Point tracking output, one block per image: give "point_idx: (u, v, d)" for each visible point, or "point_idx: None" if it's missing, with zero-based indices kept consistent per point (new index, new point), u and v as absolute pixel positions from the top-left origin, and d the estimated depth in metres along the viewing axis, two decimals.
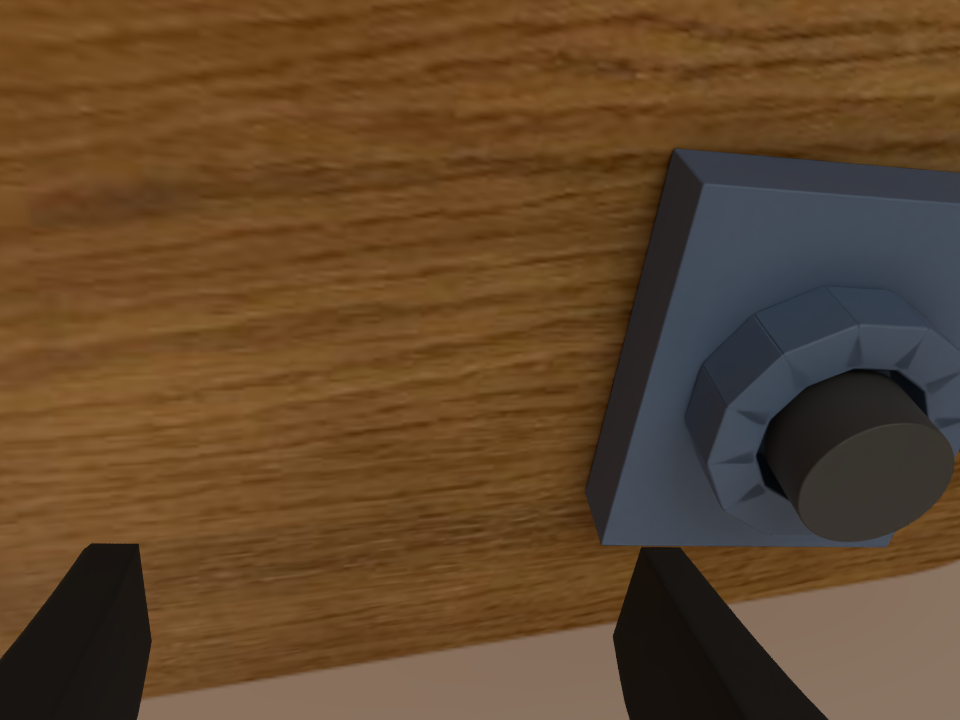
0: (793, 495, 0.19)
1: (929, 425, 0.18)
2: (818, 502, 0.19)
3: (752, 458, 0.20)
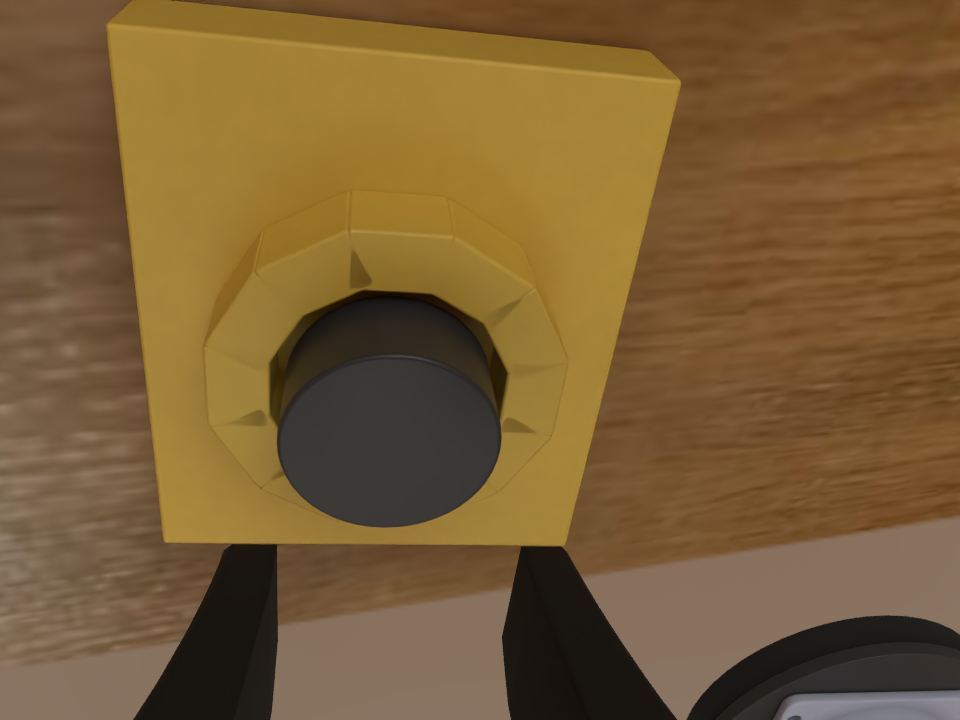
0: None
1: None
2: None
3: None
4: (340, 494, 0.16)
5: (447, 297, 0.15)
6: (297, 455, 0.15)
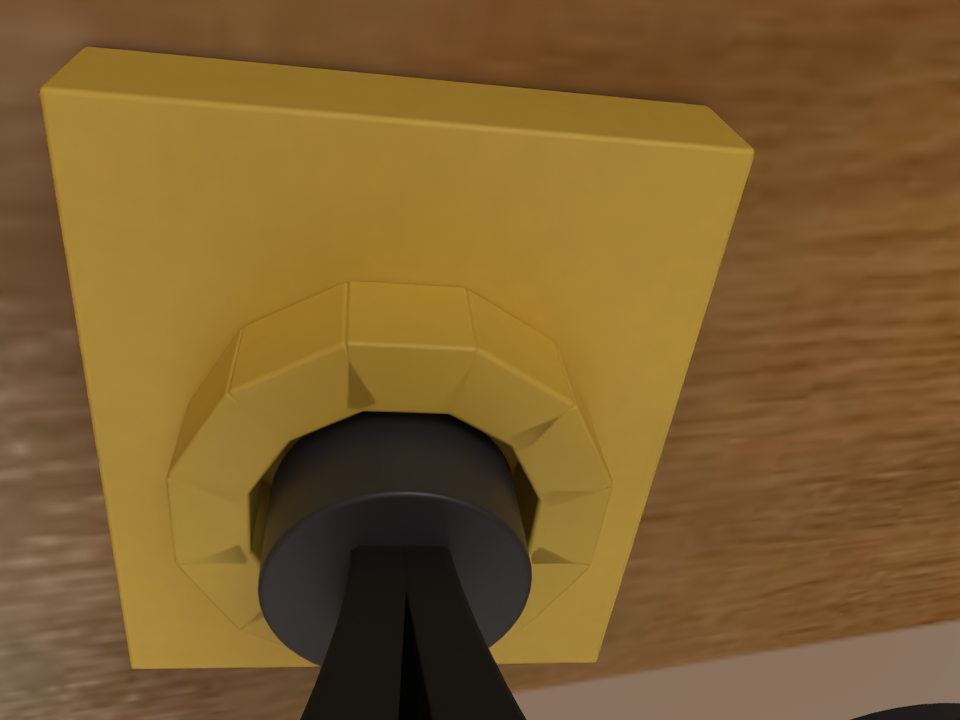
0: None
1: None
2: None
3: None
4: None
5: (467, 417, 0.12)
6: (283, 605, 0.12)
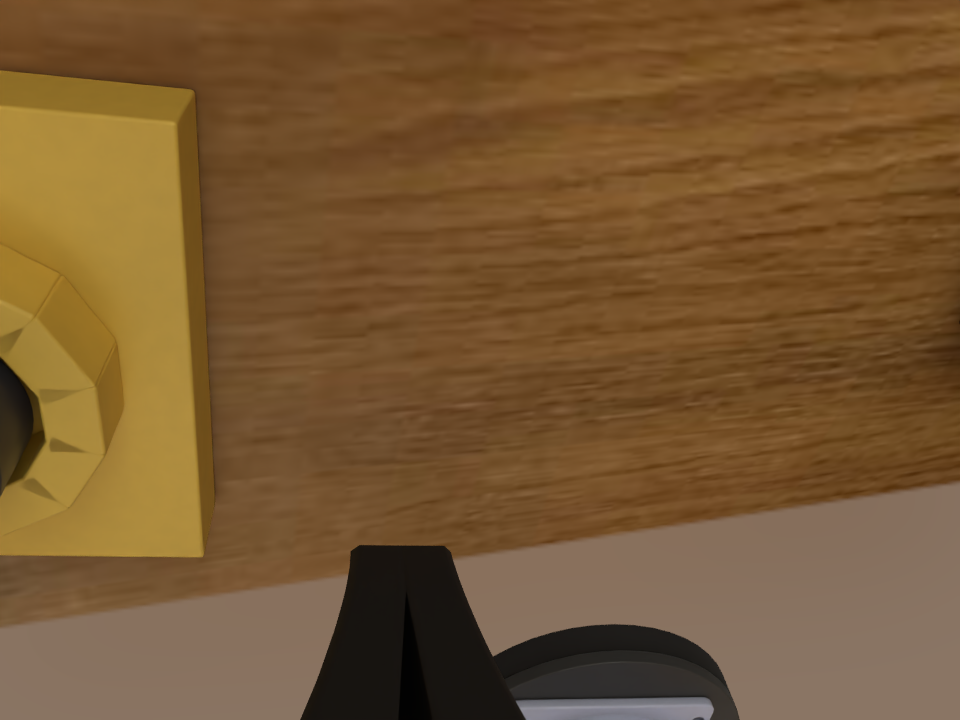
0: None
1: None
2: None
3: None
4: None
5: None
6: None
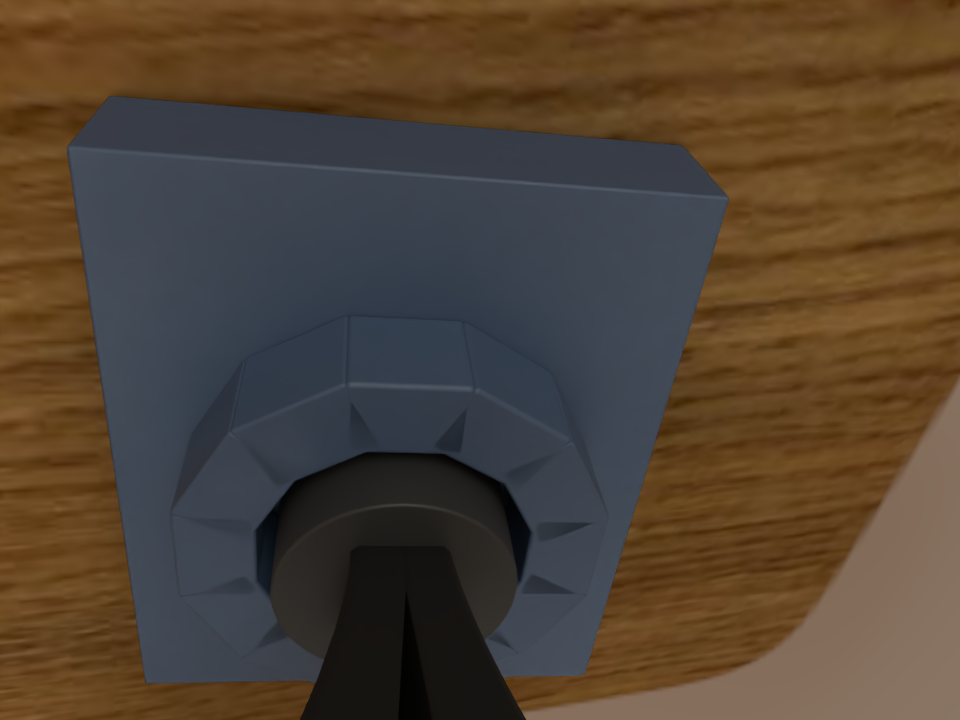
0: None
1: (450, 505, 0.12)
2: (310, 619, 0.12)
3: (250, 586, 0.13)
4: None
5: None
6: None
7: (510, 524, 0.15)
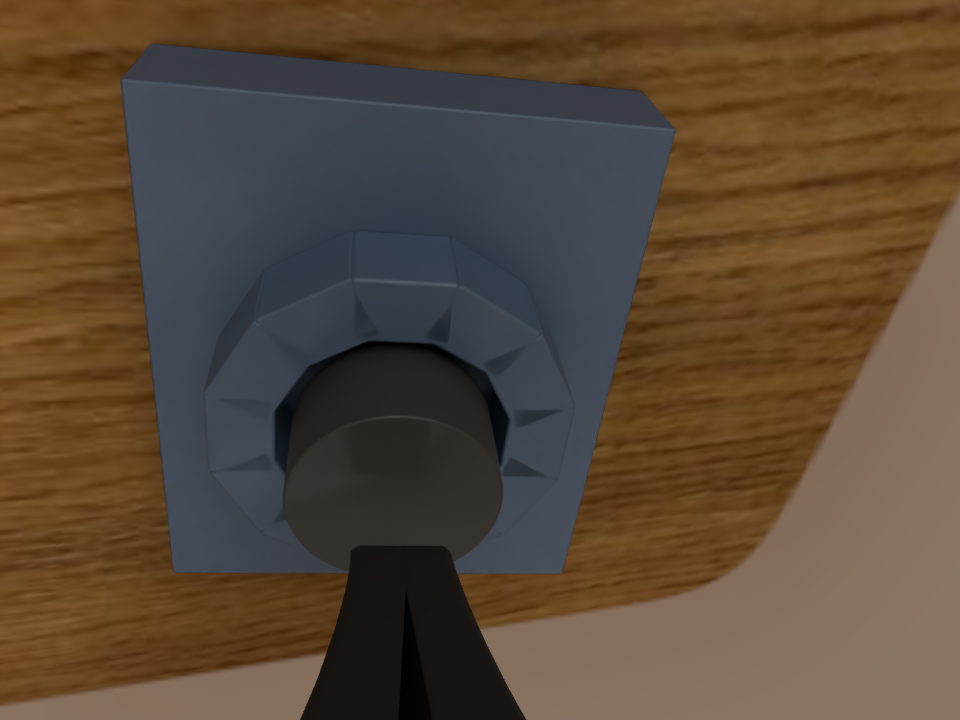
0: None
1: (443, 419, 0.13)
2: (318, 524, 0.14)
3: (269, 463, 0.15)
4: None
5: None
6: None
7: (493, 421, 0.17)
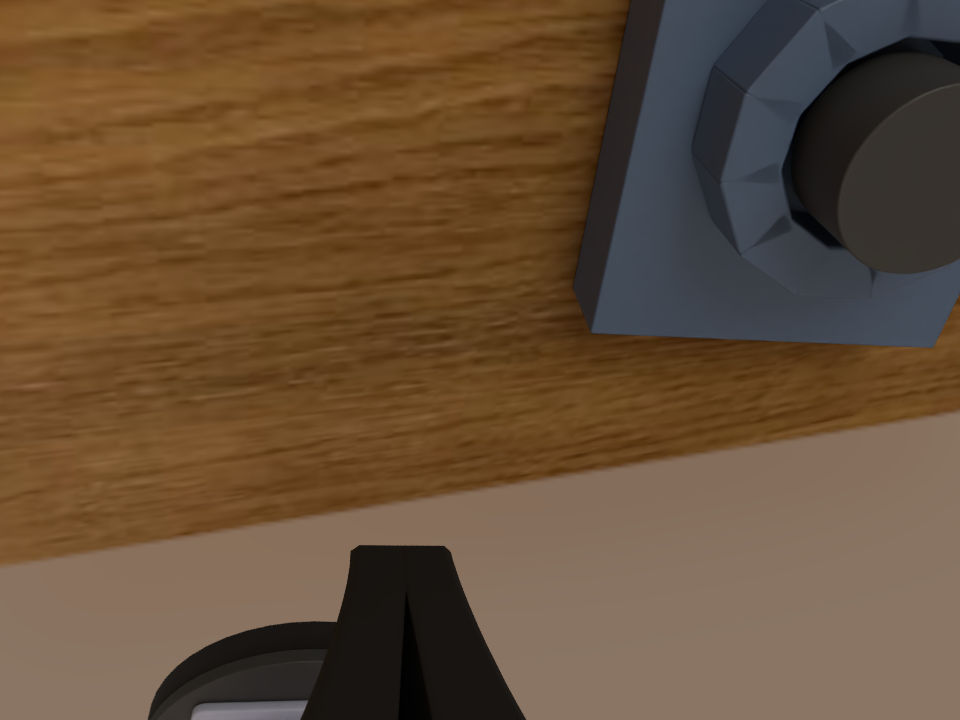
0: (831, 201, 0.15)
1: None
2: (863, 207, 0.15)
3: (777, 174, 0.16)
4: None
5: None
6: None
7: None
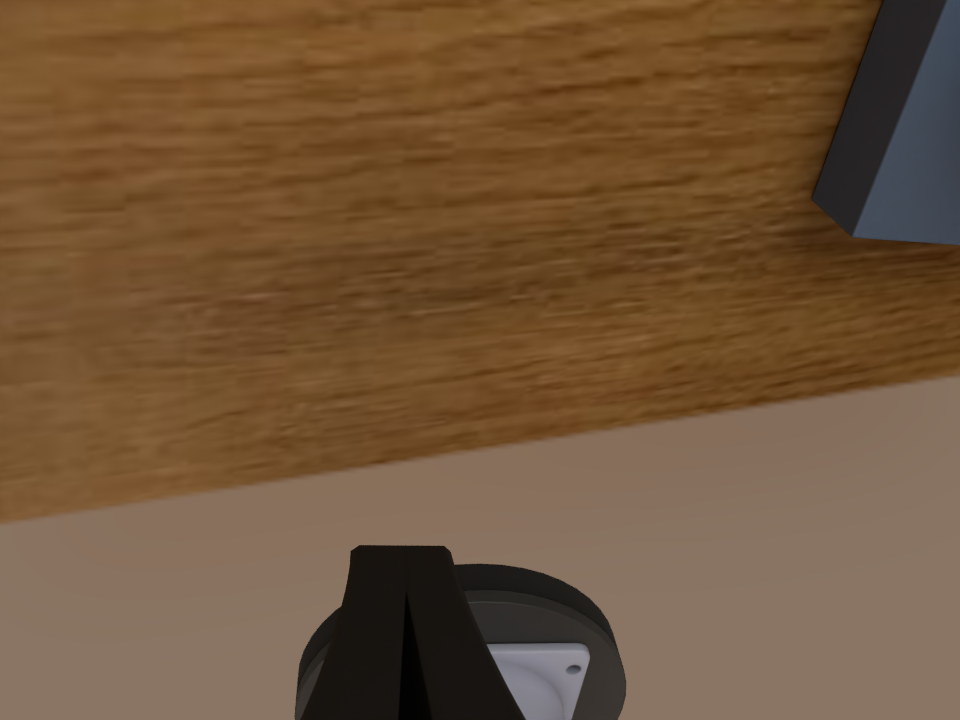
0: None
1: None
2: None
3: None
4: None
5: None
6: None
7: None
